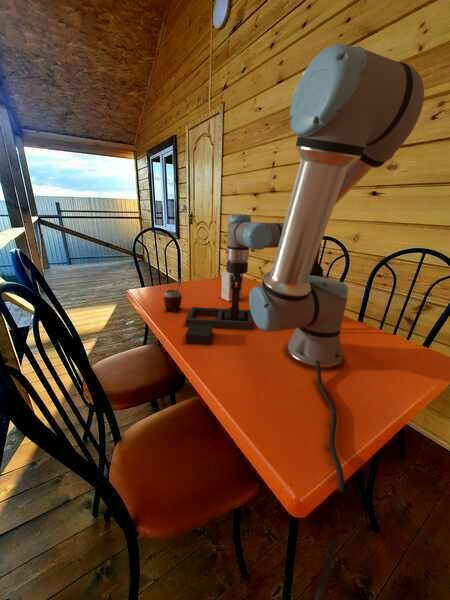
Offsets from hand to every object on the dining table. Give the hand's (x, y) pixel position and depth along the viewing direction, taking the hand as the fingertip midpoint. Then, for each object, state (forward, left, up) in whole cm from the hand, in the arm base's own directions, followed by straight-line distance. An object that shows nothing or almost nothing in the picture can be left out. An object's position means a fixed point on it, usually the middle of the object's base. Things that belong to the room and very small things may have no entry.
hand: (234, 320), depth 96 cm
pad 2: (0, 0, 0) cm, 0 cm away
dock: (0, +5, 0) cm, 6 cm away
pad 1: (-15, +11, 0) cm, 19 cm away
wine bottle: (+9, -29, 0) cm, 30 cm away
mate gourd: (+8, +25, 0) cm, 26 cm away
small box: (+27, +2, 0) cm, 27 cm away
